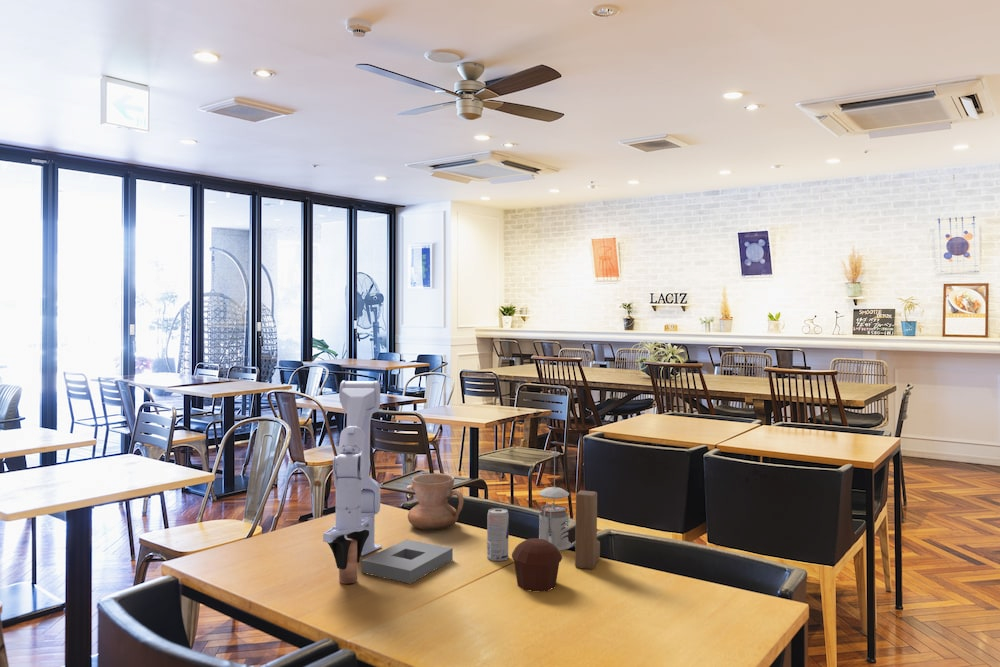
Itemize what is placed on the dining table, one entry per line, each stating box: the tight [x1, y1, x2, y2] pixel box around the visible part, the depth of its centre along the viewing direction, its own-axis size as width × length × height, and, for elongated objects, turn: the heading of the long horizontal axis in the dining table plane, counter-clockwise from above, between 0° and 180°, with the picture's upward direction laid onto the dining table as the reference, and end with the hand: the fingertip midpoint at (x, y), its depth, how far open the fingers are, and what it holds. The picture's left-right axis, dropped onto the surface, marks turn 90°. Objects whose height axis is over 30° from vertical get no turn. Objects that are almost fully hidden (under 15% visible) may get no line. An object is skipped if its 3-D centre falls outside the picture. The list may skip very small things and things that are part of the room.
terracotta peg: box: [338, 538, 358, 585], centre depth 162 cm, size 4×4×9 cm
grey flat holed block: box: [361, 539, 454, 584], centre depth 173 cm, size 14×18×3 cm
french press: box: [538, 451, 572, 551], centre depth 189 cm, size 10×12×25 cm
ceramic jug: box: [406, 473, 465, 531], centre depth 205 cm, size 18×14×14 cm
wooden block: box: [574, 489, 601, 570], centre depth 176 cm, size 9×4×18 cm, turn 161°
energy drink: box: [486, 507, 510, 562], centre depth 179 cm, size 5×5×12 cm
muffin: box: [511, 537, 563, 592], centre depth 162 cm, size 12×11×10 cm
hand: (348, 565), depth 162 cm, fingers closed on terracotta peg, 4 cm apart
